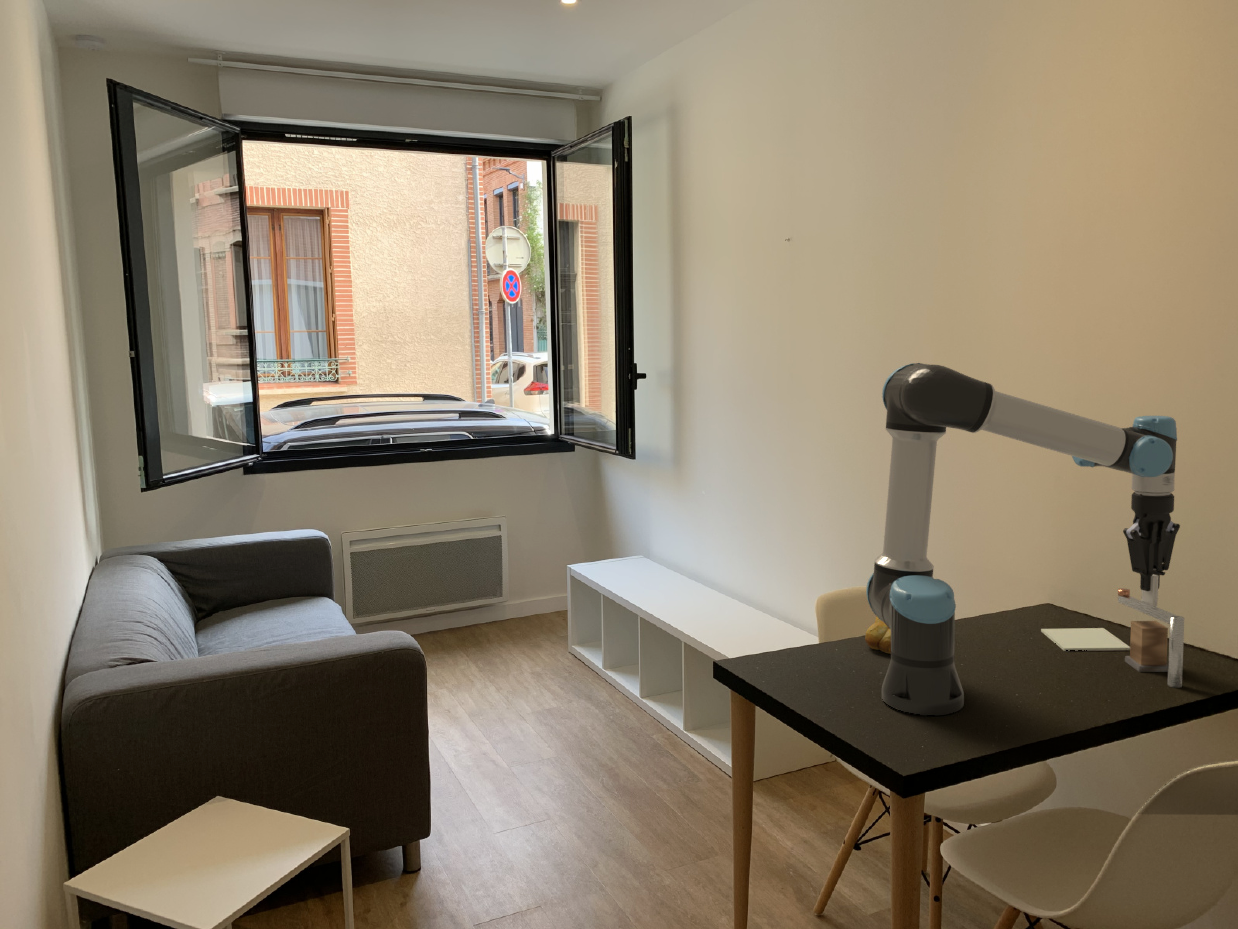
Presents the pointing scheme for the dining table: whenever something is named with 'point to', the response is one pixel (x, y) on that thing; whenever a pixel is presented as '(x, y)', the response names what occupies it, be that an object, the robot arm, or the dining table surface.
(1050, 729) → the dining table surface
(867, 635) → the bread roll
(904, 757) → the dining table surface
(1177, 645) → the grey l-shaped handle
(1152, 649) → the brown boxy piece
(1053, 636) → the sage mat
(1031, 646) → the dining table surface
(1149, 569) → the robot arm
